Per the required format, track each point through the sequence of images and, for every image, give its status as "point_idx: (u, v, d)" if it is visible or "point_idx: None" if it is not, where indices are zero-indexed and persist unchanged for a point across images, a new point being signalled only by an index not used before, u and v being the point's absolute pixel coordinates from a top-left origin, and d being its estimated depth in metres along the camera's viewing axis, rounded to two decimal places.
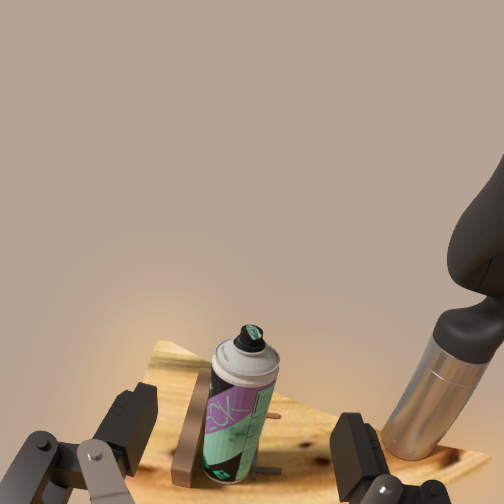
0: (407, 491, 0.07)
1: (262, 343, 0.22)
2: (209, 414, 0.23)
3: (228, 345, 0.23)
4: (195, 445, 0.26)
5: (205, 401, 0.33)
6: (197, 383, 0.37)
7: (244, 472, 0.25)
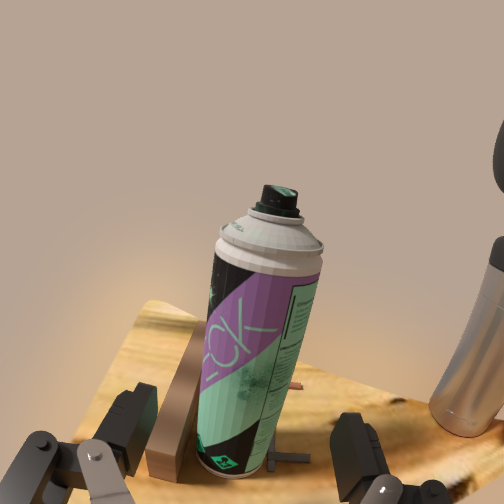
0: (407, 491, 0.07)
1: (297, 209, 0.14)
2: (207, 350, 0.15)
3: (243, 217, 0.15)
4: (185, 416, 0.18)
5: None
6: (193, 337, 0.29)
7: (259, 459, 0.17)
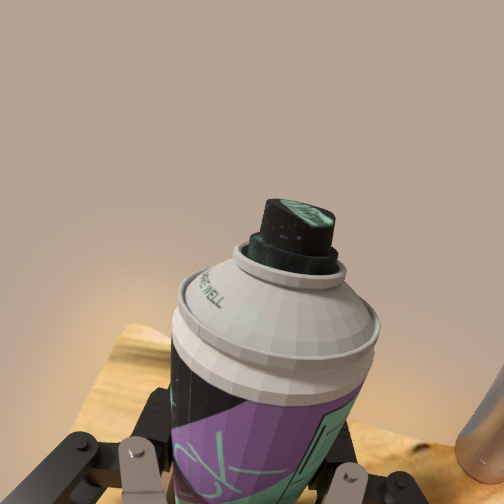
0: (374, 481, 0.07)
1: (334, 251, 0.07)
2: (175, 464, 0.08)
3: (224, 265, 0.07)
4: None
5: None
6: None
7: None
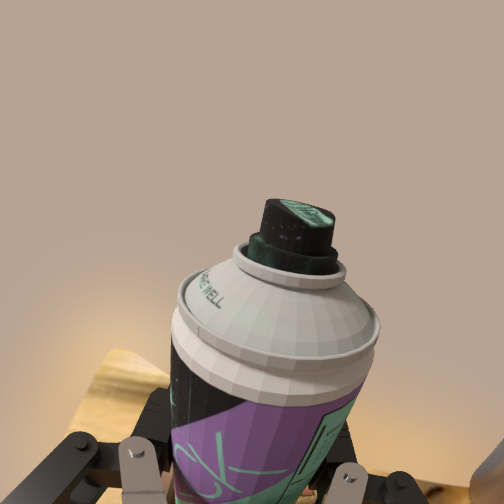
0: (374, 481, 0.07)
1: (334, 251, 0.07)
2: (175, 465, 0.08)
3: (223, 265, 0.07)
4: None
5: (167, 482, 0.13)
6: None
7: None
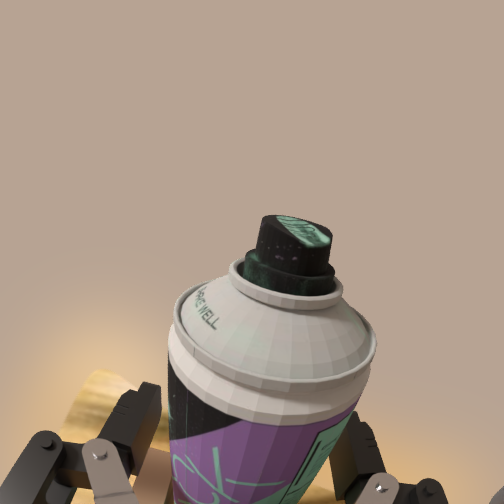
0: (403, 490, 0.07)
1: (330, 270, 0.07)
2: (174, 473, 0.08)
3: (219, 283, 0.07)
4: None
5: None
6: (136, 489, 0.12)
7: None
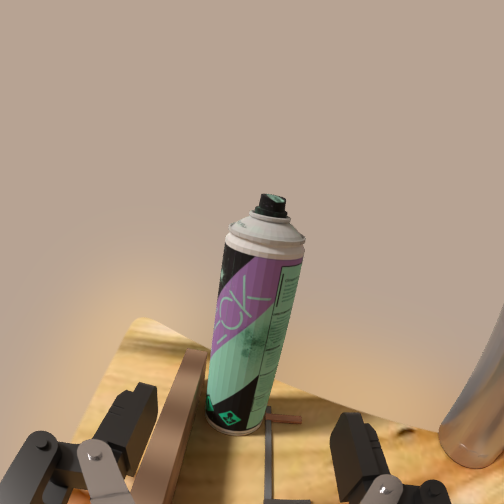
0: (407, 491, 0.07)
1: (285, 212, 0.20)
2: (218, 318, 0.21)
3: (246, 217, 0.20)
4: (170, 468, 0.14)
5: (191, 397, 0.21)
6: (181, 370, 0.24)
7: (258, 417, 0.23)
